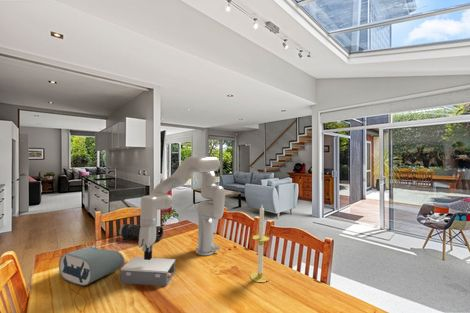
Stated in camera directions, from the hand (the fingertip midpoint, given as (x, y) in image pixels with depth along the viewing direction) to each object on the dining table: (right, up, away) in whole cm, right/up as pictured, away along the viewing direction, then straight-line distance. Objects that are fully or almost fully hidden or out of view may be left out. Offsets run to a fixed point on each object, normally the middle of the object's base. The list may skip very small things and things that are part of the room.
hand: (148, 259), depth 110 cm
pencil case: (-29, -10, +4) cm, 31 cm away
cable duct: (0, -10, +2) cm, 11 cm away
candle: (+55, -12, +5) cm, 56 cm away
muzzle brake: (-24, -9, +49) cm, 55 cm away
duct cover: (0, -4, +2) cm, 5 cm away
